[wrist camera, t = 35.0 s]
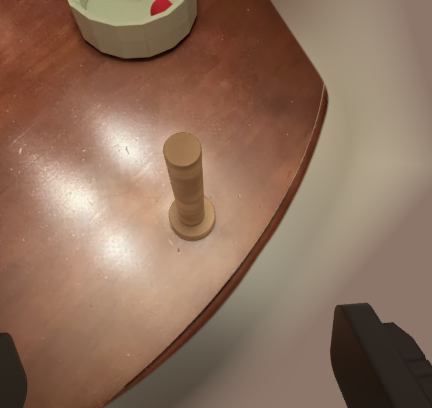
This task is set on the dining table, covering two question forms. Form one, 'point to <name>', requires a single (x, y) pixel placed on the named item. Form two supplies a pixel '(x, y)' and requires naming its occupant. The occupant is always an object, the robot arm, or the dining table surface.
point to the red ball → (159, 6)
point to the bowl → (132, 25)
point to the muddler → (188, 188)
